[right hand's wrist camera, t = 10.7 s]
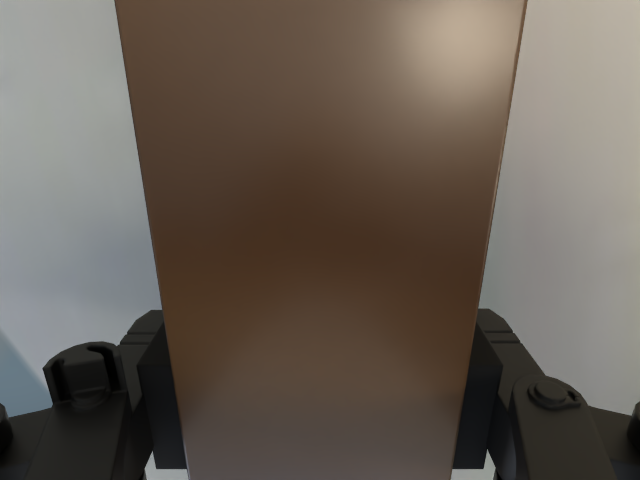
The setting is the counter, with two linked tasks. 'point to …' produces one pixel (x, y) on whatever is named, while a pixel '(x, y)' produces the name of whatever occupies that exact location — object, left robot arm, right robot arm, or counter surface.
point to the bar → (320, 222)
